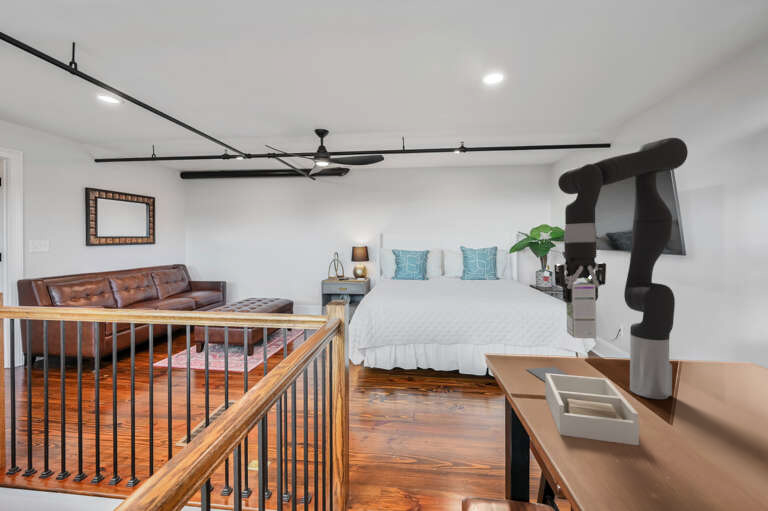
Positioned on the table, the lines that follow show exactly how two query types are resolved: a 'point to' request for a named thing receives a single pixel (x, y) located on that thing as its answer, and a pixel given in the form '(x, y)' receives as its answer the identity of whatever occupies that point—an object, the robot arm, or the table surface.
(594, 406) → the offcut stack
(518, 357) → the table surface
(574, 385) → the white divided tray
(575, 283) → the syrup box
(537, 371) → the rubber mat
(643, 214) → the robot arm
